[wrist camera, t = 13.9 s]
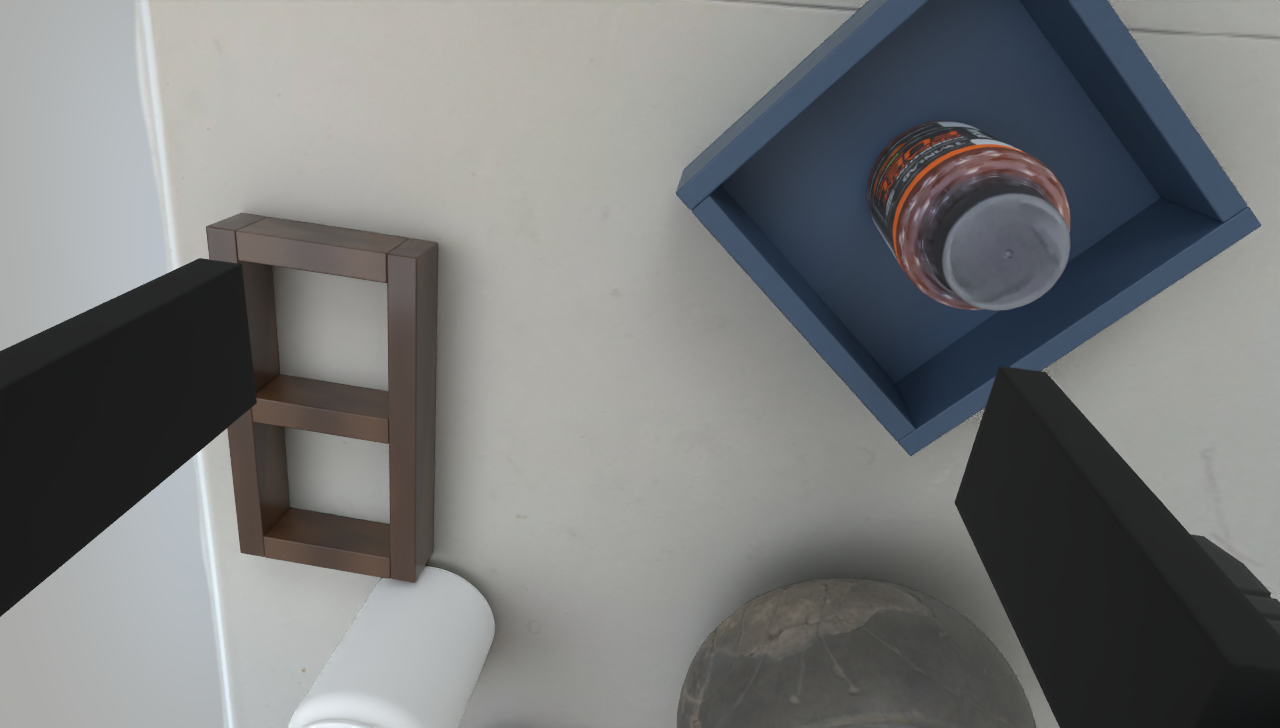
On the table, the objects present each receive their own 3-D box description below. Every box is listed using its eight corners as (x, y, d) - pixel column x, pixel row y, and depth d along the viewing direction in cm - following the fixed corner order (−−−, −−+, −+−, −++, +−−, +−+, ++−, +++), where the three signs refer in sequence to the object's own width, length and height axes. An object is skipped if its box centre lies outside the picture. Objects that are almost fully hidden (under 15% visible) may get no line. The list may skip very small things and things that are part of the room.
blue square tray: (683, 169, 37) (674, 193, 32) (978, -100, 32) (1024, -123, 27) (888, 402, 41) (910, 457, 36) (1186, 196, 35) (1262, 225, 30)
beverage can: (521, 641, 50) (461, 814, 39) (416, 674, 52) (332, 846, 41) (456, 542, 48) (373, 697, 37) (349, 581, 50) (240, 738, 39)
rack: (268, 523, 49) (240, 553, 46) (240, 212, 41) (205, 226, 38) (433, 551, 48) (415, 583, 45) (438, 242, 40) (417, 258, 37)
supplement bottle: (922, 90, 34) (1002, 120, 24) (1029, 166, 35) (1151, 227, 25) (836, 205, 37) (875, 277, 26) (938, 274, 37) (1015, 370, 27)
